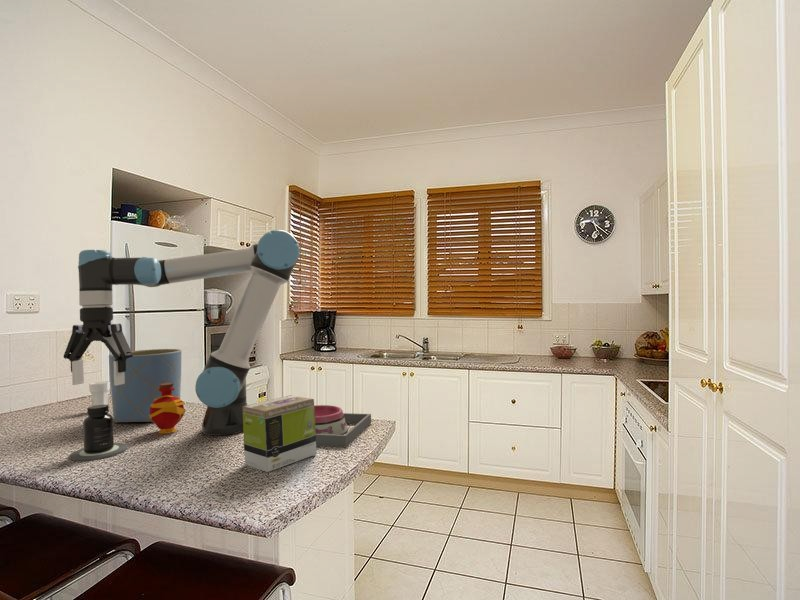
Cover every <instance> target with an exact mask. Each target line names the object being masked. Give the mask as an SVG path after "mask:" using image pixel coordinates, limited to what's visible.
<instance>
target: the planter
mask: <svg viewBox="0 0 800 600" xmlns="http://www.w3.org/2000/svg"><path fill="white" fill-rule="evenodd" d="M131 352H132V354H133V356H132V357H130V358H127V359H126V372H124V375H125V384H121V385H117V386H114V362H113V361H114V360H115V357H114V356H113V355H112V353H110V354H109V355H108V365H109V382H110V391H111V393H110V394H111V402H112V403H111V404H112V405H111V406H112V417H113V423H115V424H116V423H139V422H140V423H145V422H147V423H154V422H153V421H152V420H151V419H150V416H149V415H150V413H149V412H150V407H151V404H152V403H153V402H154V399H156V398H159V397H161V396H162V392H160V391H159V388H160V385H159V384H163V383H174V384H173V387H174V390H172V395H173V396H175V397H179V398H180V399H181V389H182V386H181V385H182V384H181V383H182V349H178V348H159V349H158V348H157V349H153V348H152V349H139V350H131Z"/></svg>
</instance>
